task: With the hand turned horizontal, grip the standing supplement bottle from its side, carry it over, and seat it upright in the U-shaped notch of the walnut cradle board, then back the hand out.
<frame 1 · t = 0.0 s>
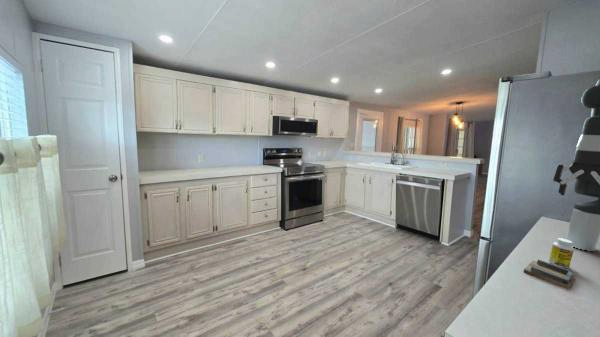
hand: (581, 198, 79), 29 cm above the table, tool pointing down, fingers open, 8 cm apart
notched cradle board: (548, 274, 85), on the table
supplement bottle: (558, 265, 93), on the table
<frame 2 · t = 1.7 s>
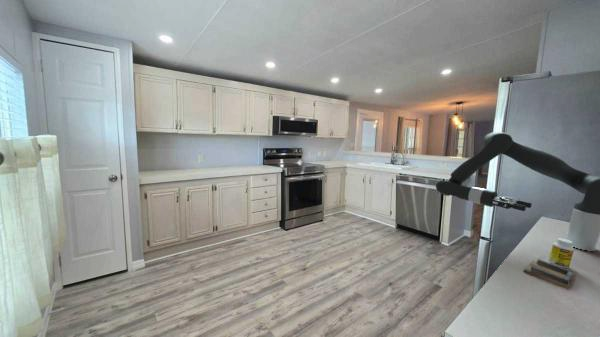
hand: (528, 207, 99), 20 cm above the table, tool horizontal, fingers open, 8 cm apart
nothing on the table moved.
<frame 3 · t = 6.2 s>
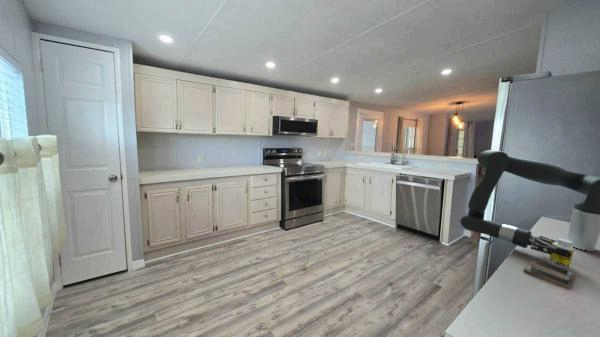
hand: (571, 253, 90), 6 cm above the table, tool horizontal, fingers closed on supplement bottle, 5 cm apart
supplement bottle: (558, 264, 93), on the table, touching gripper
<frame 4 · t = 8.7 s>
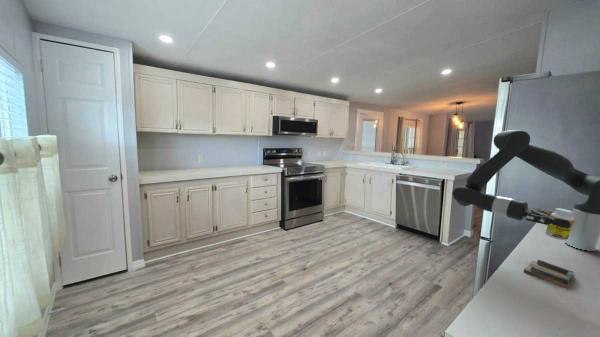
hand: (571, 223, 81), 20 cm above the table, tool horizontal, fingers closed on supplement bottle, 5 cm apart
supplement bottle: (556, 237, 84), point 14 cm above the table, touching gripper
when the fingers open (8 cm above the table, at t = 11.7 s): supplement bottle stays where it is, resting on notched cradle board.
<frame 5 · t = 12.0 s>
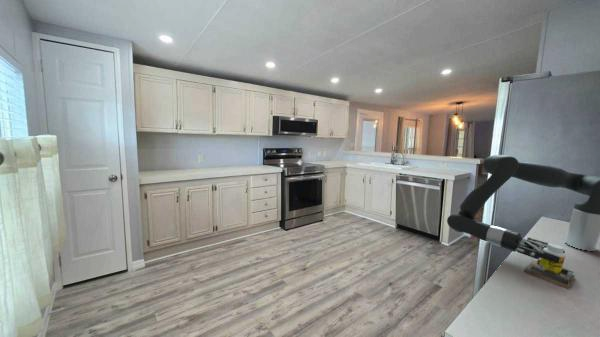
hand: (561, 257, 83), 8 cm above the table, tool horizontal, fingers open, 8 cm apart
supplement bottle: (548, 272, 85), point 1 cm above the table, touching notched cradle board
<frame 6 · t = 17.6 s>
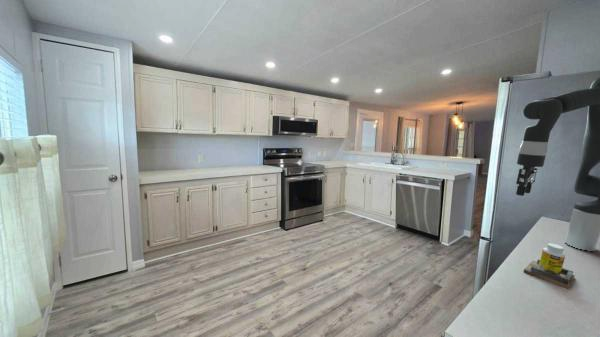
hand: (523, 194, 94), 26 cm above the table, tool pointing down, fingers open, 8 cm apart
nothing on the table moved.
at the end: supplement bottle 0.1 cm off-centre on the notched cradle board, point 0.8 cm above the notched cradle board's base; supplement bottle tilted 0°; the gripper is holding nothing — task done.
